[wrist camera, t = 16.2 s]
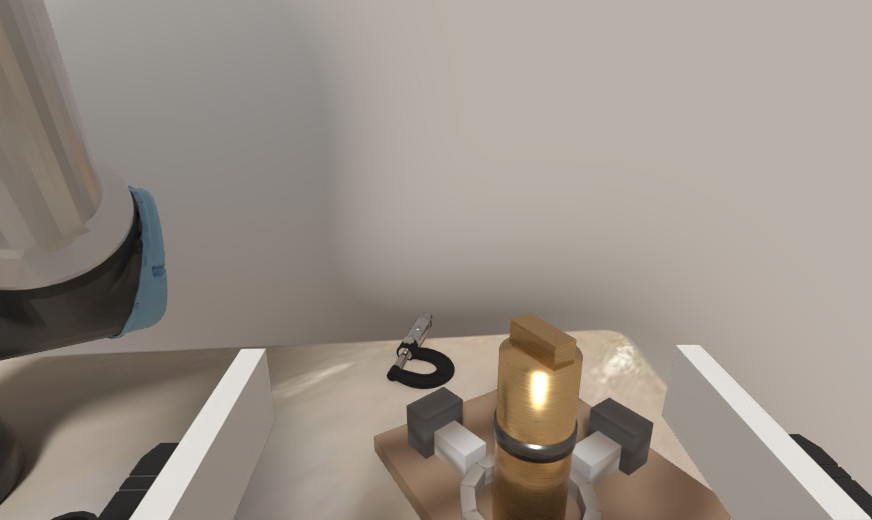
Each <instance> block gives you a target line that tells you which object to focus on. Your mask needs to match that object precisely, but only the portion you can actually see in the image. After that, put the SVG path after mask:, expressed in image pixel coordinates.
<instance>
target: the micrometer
mask: <svg viewBox="0 0 872 520" xmlns="http://www.w3.org/2000/svg"><path fill="white" fill-rule="evenodd" d="M431 319H432V315H431V313H429V312H425V313H424V314H423V315H420V316H418V317H417V319H416V320H415V322H414V324H413V326H412V327H411V328H410V330H409V331H408V333H407V335H406V337H405V338H404V339H403V341H402V343H401V344H400V346H399V348H398V349H397V356H398V357H399V358H398V359H397V361H396V362H395V364H394V365H393V366H392V367H391V369H390V370H389V372H388V374H387V378H388V379H389V380H391V381H393V380H397V381H399V382H401V383H403V384H405V385H408V386H410V387H414V388H419V389H430V388H435V387H438V386H441V385H443V384H445V383H447V382H448V381H449V380H450V379H451V378H452V377H453V375H454V365H453V363H452V361H451V360H450V359H449V358H448V357H447V356H446V355H444V354H442V353H441V352H438V351H436V350H433V349H429V348H422V347H419V346H420V344H421V343H422V341H423V340H424V338H425V336H426V333H427V332H428V330H429V329H430V327H431V325H432V321H431ZM412 358H416V359H420V360H424V361H428V362H430V363H432V364H434V365H435V366H436V368H437V370H436V371H435V372H433V373H431V374H418V373H414V372H410V371H407V370H403V369H400V368H401V367H402V365H403V363H404V362H405V360H412Z"/></svg>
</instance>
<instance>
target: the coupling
mask: <svg viewBox="0 0 872 520" xmlns="http://www.w3.org/2000/svg"><path fill="white" fill-rule="evenodd" d="M582 361H583V355H582V353H581V351H580V349H579V348H578V347H577V346H576V339H575V338H573V337H571V336H569V335H568V334H566V333H564V332H562V331H560V330H559V329H557V328H555V327H553V326H552V325H550V324H548V323H546V322H545V321H543V320H541V319H539V318H538V317H536V316H534V315H532V314H530V313H529V314H526V315H523V316H519V317H516V318H513V319H510V337H509V338H507V339H506V340H504V341H503V342H502V343H501V345H500V347H499V365H498V388H497V408H496V409H495V412H494V428H493V433H494V438H495V459H494V482H493V505H492V515H493V519H494V520H565V517H566V507H567V498H568V489H569V480H570V471H571V462H572V453H573V450H574V448H575V446H576V439H577V430H578V422H577V419H576V416H577V407H578V398H579V389H580V379H581V370H582Z"/></svg>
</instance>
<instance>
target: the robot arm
mask: <svg viewBox="0 0 872 520" xmlns="http://www.w3.org/2000/svg"><path fill="white" fill-rule="evenodd" d="M164 266H165V251H164V244H163V237H162V230H161V225H160V220H159V216H158V211H157V207H156V204H155V201H154V199H153V196H152V195H151V194H150V192H148V191H147V190H145V189H141V188H133V187H131V186H126V184H125V182H124V181H123V179H122V178H121V177H120V176H119V175H118V174H117V173H116V172H115V171H114V170H113V169H112V168H110V167H109V166H108V165H106V164H104V163H103V162H101V161H99V160H97V159H95V158H94V157H93V153H92V150H91V147H90V144H89V141H88V138H87V135H86V132H85V128H84V125H83V122H82V119H81V116H80V113H79V110H78V107H77V103H76V100H75V97H74V94H73V91H72V88H71V85H70V82H69V78H68V75H67V72H66V69H65V66H64V63H63V60H62V56H61V53H60V50H59V47H58V44H57V41H56V38H55V34H54V31H53V28H52V25H51V22H50V19H49V16H48V13H47V9H46V6H45V3H44V0H0V361H1V360H6V359H10V358H15V357H19V356H24V355H28V354H33V353H38V352H42V351H47V350H52V349H56V348H61V347H66V346H70V345H74V344H79V343H84V342H89V341H93V340H97V339H102V338H111V339H112V338H119V337H122V336H123V335H125V334H126V333H129V332H132V331H136V330H140V329H144V328H148V327H151V326H153V325H155V324H156V323H157V322H159V321H160V320H161V319H162V317H163V315H164V313H165V311H166V306H167V275H166V270H165V268H164ZM662 417H663V418H664V420H665V421H666V423H667V424H668V425H669V427H670V428H671V430H672V431H673V433H674V434H675V436H676V437H677V439H678V440H679V442H680V443H681V445H682V446H683V447H684V449H685V450H686V452H687V453H688V455H689V456H690V458H691V459H692V461H693V462H694V464H695V465H696V467H697V468H698V470H699V471H700V472H701V474H702V475H703V477H704V478H705V480H706V481H707V483H708V484H709V486H710V487H711V489H712V490H713V492H714V493H715V495H716V496H717V497H718V499H719V500H720V502H721V503H722V505H723V506H724V508H725V509H726V511H727V512H728V514H729V515H730V517H731V518H732V520H872V496H871V495H870V494H868V493H867V492H866V491H865V490H864V489H863V488H862V487H861V486H860V485H859V484H858V483H857V482H856V481H855V480H852V479H851V476H850V475H849V474H848V473H846V471H845V470H844V469H842V468H841V467H838V464H837V463H836V462H835V461H834V460H833V459H832V458H831V457H830V456H829V455H828V454H827V453H826V452H825V451H824V450H823V449H822V448H820V447H819V446H817V445H816V444H814V443H812V442H811V441H809V440H807V439H806V438H804V437H802V436H801V435H799V434H787V433H786V432H785V431H784V430H783V429H782V428H781V427H780V426H779V425H778V424H777V423H776V422H775V421H774V420H773V419H772V418H771V417H770V416H769V415H768V414H767V413H766V412H765V411H764V410H763V409H762V408H761V407H760V406H759V405H758V404H757V403H756V402H755V401H754V400H753V399H752V398H751V397H750V396H749V395H748V394H747V393H746V392H745V391H744V390H743V389H742V388H741V387H740V386H739V385H738V384H737V382H736V381H735V380H734V379H733V378H732V377H730V376H729V374H727V372H726V371H725V370H724V369H723V368H722V367H721V366H720V365H719V364H718V363H717V362H716V361H714V359H713V358H712V357H711V356H710V355H709V354H708V353H707V352H706V351H705V350H704V349H703V348H702V347H701V346H700V345H676V347H675V352H674V357H673V362H672V367H671V372H670V377H669V382H668V387H667V392H666V396H665V401H664V406H663V411H662ZM275 420H276V418H275V411H274V404H273V397H272V390H271V383H270V376H269V368H268V361H267V354H266V349H241V350H240V352H239V353H238V355H237V356H236V358H235V359H234V361H233V363H232V364H231V366H230V367H229V369H228V370H227V372H226V373H225V375H224V376H223V378H222V379H221V381H220V382H219V384H218V385H217V387H216V388H215V390H214V391H213V393H212V394H211V396H210V398H209V399H208V401H207V402H206V404H205V405H204V407H203V408H202V410H201V411H200V413H199V414H198V416H197V417H196V419H195V420H194V422H193V423H192V425H191V426H190V428H189V430H188V431H187V433H186V434H185V436H184V437H183V439H182V440H181V442H180V443H160V444H159V445H157V446H156V447H155V448H154V449H152V450H151V451H150V452H148V453H147V454H146V455H145V456H143V457H142V458H141V459H140V461H139V462H138V464H137V465H136V466H135V468H134V469H133V470H132V472H131V473H130V476H129V478H127V479H126V480H125V481H124V483H123V484H122V485H121V487H120V488H119V492H116V494H115V495H114V496H113V498H112V499H111V501H110V502H109V503H108V505H107V506H106V507H105V509H104V510H103V512H102V513H101V514H100V516H99V517H98V518H97V517H96V515H95V514H93V513H90V512H86V511H79V512H70V513H67V514H64V515H61V516H58V517H55V518H53V519H51V520H233V519H234V516H235V514H236V512H237V509H238V507H239V505H240V502H241V500H242V498H243V495H244V493H245V491H246V488H247V486H248V484H249V481H250V479H251V476H252V474H253V472H254V469H255V467H256V465H257V462H258V460H259V458H260V455H261V453H262V451H263V448H264V446H265V444H266V441H267V439H268V437H269V434H270V432H271V430H272V427H273V425H274V423H275ZM23 467H24V454H23V452H22V449H21V446H20V443H19V441H18V438H17V435H16V434H15V432H14V431H13V429H12V428H11V427H10V426H9V425H8V424H7V423H6V422H5V421H4V420H3V419H2V418H1V417H0V502H1V500H2V499H3V498H4V497H5V496H6V495H7V494H8V493H9V492H10V490H11V489H12V488H13V486H14V485H15V484H16V482H17V480H18V479H19V477H20V475H21V473H22V470H23Z"/></svg>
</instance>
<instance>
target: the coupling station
mask: <svg viewBox="0 0 872 520" xmlns="http://www.w3.org/2000/svg"><path fill="white" fill-rule="evenodd" d="M496 408H497V390H495V391H492V392H490V393H487V394H484V395H482V396H479V397H476V398H474V399H471V400H468V401H466V402H463V399H461V398H460V397H458V396H457V395H455V394H454V393H452V392H451V391H449V390H448V389H446V388H445V387H442V388H440V389H438V390H436V391H435V392H433V393H431V394H429V395H427V396H425V397H423V398H421V399H419V400H417V401H415V402H413V403H411V404H409V405H407V424H405V425H402V426H400V427H397V428H394V429H392V430H389V431H387V432H384V433H381V434H379V435H376V436H374V447H375V452H376V453H377V455H378V456H379V458H380V459H381V461H382V462H383V463H384V465H385V466H386V468H387V469H388V471H389V472H390V474H391V475H392V477H393V478H394V480H395V481H396V483H397V484H398V486H399V487H400V489H401V490H402V492H403V493H404V495H405V496H406V498H407V499H408V501H409V502H410V504H411V505H412V507H413V508H414V509H415V511H416V512H417V514H418V515H419V517H420V518H421V520H494V519H493V515H492V505H493V482H494V459H495V438H494V433H493V428H494V412H495V409H496ZM576 419H577V422H578V430H577V439H576V446H575V448H574V450H573V453H572V462H571V471H570V480H569V489H568V498H567V507H566V517H565V520H730V519H731V517H730V515H729V514H728V512H727V511H726V509H725V508H724V506H723V505H722V503H721V502H720V500H719V499H718V497H717V496H716V495H715V493H714V492H713V491H711V490H710V489H708V488H707V487H705V486H704V485H703V484H701V483H700V482H698V481H697V480H695V479H694V478H693V477H691V476H690V475H688V474H687V473H685V472H684V471H683V470H681V469H680V468H678V467H677V466H675V465H674V464H673V463H671V462H670V461H668V460H667V459H665V458H664V457H663V456H661V455H660V454H658V453H657V452H655V451H654V450H653V449H651V448H650V441H651V435H652V429H653V422H651V421H649V420H647V419H646V418H644V417H642V416H640V415H639V414H637V413H635V412H633V411H632V410H630V409H628V408H626V407H625V406H623V405H621V404H620V403H618V402H616V401H614V400H613V399H611V398H608V399H606V400H604V401H603V402H601V403H599V404H597V405H596V406H594V407H591V406H590V405H588V404H587V403H585V402H584V401H583V400H581V399H580V398H578V407H577V416H576Z"/></svg>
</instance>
